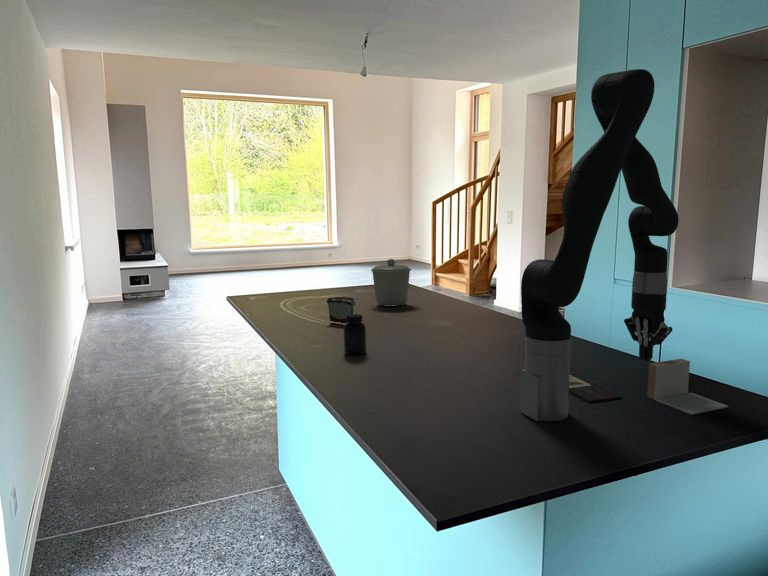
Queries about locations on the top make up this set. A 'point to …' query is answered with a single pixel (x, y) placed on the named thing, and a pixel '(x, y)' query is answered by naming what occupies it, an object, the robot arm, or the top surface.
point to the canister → (391, 283)
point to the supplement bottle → (354, 336)
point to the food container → (340, 308)
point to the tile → (668, 378)
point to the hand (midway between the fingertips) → (645, 360)
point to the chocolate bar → (589, 390)
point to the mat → (691, 403)
